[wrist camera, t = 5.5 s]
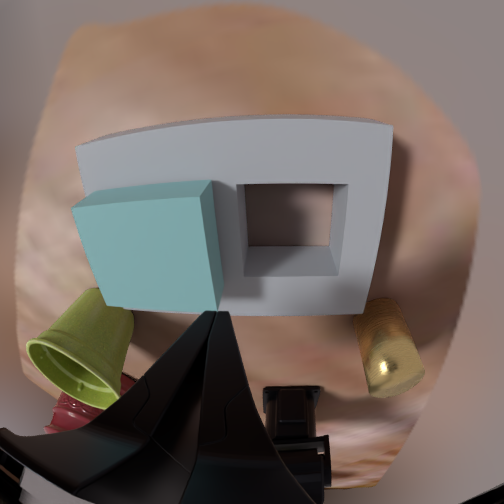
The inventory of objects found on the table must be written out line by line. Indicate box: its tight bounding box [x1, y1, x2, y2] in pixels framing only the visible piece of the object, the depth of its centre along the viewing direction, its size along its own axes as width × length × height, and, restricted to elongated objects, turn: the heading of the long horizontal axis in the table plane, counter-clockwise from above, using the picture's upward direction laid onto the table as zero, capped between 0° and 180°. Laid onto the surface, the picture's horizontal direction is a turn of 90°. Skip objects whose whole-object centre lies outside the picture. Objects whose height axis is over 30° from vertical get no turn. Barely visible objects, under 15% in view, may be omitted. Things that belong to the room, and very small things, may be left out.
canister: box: [44, 374, 136, 434], centre depth 26 cm, size 13×13×18 cm
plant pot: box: [26, 288, 134, 410], centre depth 21 cm, size 9×9×9 cm
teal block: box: [71, 180, 224, 312], centre depth 14 cm, size 6×7×2 cm
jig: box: [75, 114, 393, 316], centre depth 17 cm, size 12×17×4 cm
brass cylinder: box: [353, 298, 425, 398], centre depth 19 cm, size 4×4×7 cm
